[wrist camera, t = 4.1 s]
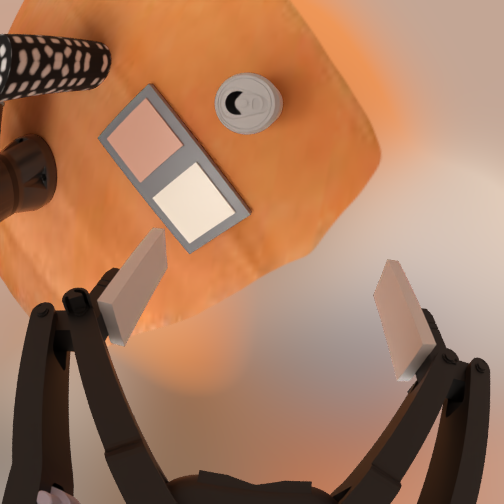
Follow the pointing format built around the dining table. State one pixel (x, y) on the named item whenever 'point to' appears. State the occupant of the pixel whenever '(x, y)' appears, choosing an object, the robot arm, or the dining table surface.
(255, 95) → the beverage can
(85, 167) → the dining table surface
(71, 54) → the spotted tube
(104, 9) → the dining table surface
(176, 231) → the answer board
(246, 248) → the dining table surface
